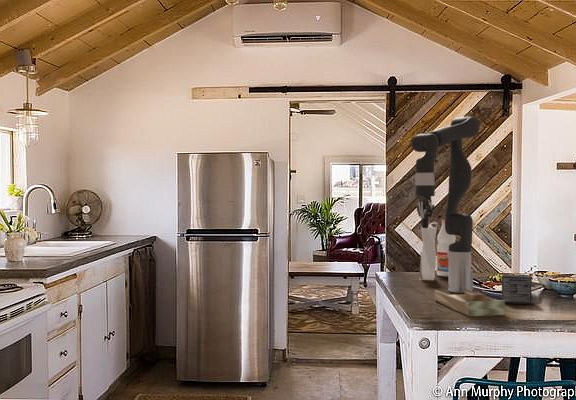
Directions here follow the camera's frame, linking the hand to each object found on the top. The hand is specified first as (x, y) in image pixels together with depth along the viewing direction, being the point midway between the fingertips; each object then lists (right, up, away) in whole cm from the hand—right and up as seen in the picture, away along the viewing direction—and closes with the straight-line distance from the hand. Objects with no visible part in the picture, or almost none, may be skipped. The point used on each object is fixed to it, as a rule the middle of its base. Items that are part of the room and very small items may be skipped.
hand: (424, 227), depth 224 cm
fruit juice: (+26, -27, +61) cm, 72 cm away
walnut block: (+12, -27, -25) cm, 39 cm away
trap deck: (+12, -29, -14) cm, 34 cm away
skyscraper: (+14, -28, +49) cm, 58 cm away
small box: (+34, -29, -6) cm, 45 cm away
